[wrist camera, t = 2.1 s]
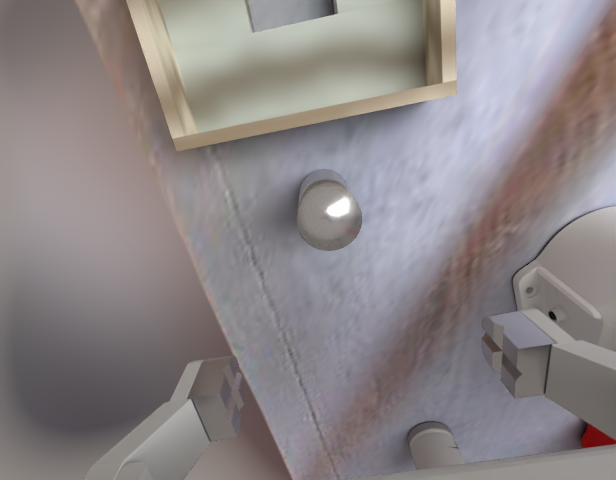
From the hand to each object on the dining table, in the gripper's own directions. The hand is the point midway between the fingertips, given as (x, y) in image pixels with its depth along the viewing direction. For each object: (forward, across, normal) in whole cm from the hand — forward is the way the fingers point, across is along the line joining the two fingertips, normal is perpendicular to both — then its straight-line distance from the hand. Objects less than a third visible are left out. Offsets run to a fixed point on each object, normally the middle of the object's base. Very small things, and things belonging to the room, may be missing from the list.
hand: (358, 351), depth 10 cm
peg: (+24, 0, 0) cm, 24 cm away
